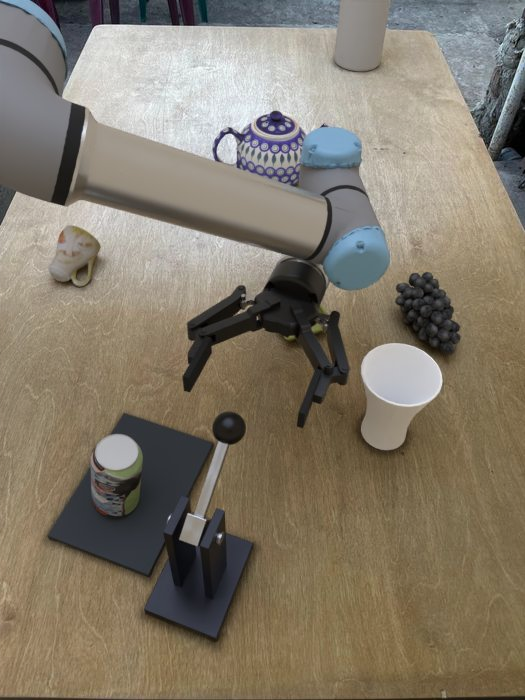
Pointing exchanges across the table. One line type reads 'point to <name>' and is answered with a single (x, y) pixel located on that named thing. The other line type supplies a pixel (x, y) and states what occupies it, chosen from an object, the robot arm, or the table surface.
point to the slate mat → (154, 502)
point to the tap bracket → (198, 575)
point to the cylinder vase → (361, 33)
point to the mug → (74, 254)
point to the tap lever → (213, 475)
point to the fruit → (429, 311)
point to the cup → (396, 391)
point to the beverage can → (116, 475)
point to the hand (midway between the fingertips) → (242, 402)
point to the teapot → (268, 147)
